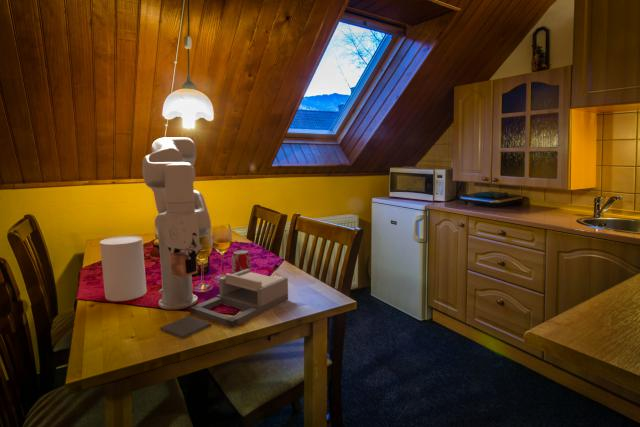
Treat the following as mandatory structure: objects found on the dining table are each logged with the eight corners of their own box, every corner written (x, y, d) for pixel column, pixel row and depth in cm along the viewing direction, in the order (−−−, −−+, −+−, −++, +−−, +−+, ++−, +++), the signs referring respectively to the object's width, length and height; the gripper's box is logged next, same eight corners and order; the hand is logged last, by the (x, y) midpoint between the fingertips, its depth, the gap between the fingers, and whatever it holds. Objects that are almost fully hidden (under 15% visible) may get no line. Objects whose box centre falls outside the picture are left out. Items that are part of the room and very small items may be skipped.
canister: (120, 303, 140) (114, 246, 136) (97, 296, 147) (91, 241, 143) (154, 291, 151) (150, 238, 148) (131, 285, 158) (127, 234, 155)
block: (171, 274, 118) (170, 254, 117) (186, 270, 122) (184, 250, 121) (183, 277, 115) (182, 256, 114) (197, 272, 119) (196, 252, 118)
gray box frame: (190, 313, 131) (188, 289, 130) (247, 289, 153) (247, 268, 151) (232, 327, 121) (231, 301, 120) (288, 300, 142) (287, 277, 141)
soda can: (247, 285, 158) (246, 254, 156) (229, 283, 159) (228, 253, 157) (253, 279, 164) (252, 249, 162) (236, 278, 166) (235, 249, 164)
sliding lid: (225, 283, 140) (225, 274, 140) (250, 274, 150) (249, 265, 150) (259, 292, 132) (258, 282, 131) (283, 281, 142) (282, 272, 141)
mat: (160, 329, 120) (160, 327, 120) (188, 317, 128) (188, 315, 128) (182, 338, 114) (182, 336, 114) (210, 325, 122) (210, 323, 122)
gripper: (150, 207, 117) (154, 269, 120) (190, 212, 108) (194, 279, 111) (172, 204, 123) (176, 263, 126) (212, 208, 114) (215, 271, 117)
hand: (184, 269), depth 118 cm, fingers closed on block, 5 cm apart
